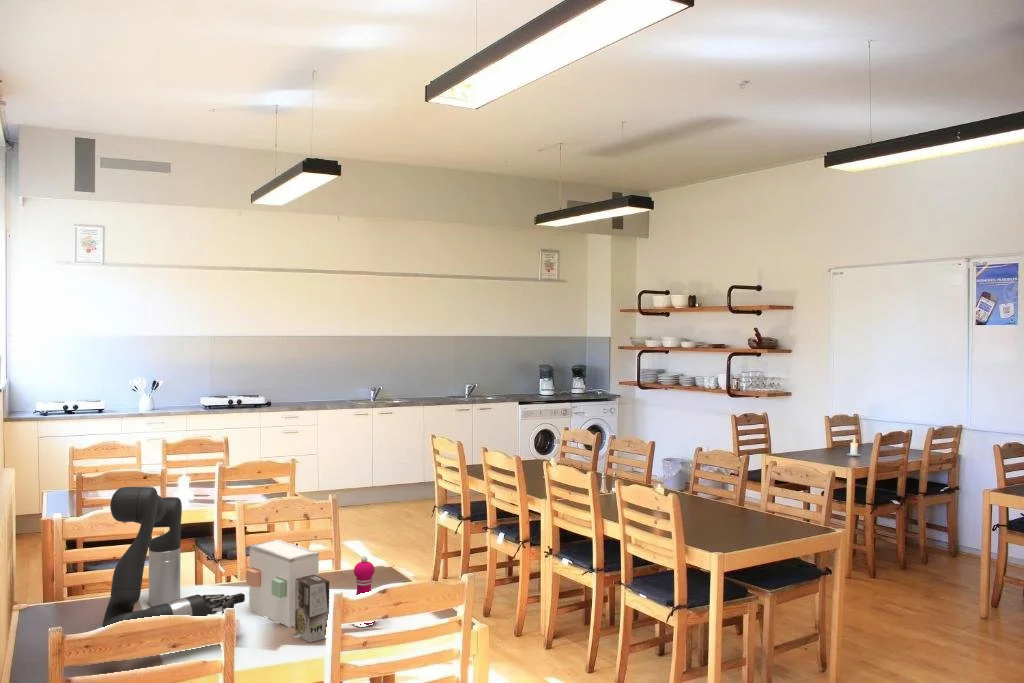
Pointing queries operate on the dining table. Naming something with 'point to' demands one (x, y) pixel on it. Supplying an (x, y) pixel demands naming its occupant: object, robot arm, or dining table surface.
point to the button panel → (283, 564)
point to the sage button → (279, 587)
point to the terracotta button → (254, 577)
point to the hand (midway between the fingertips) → (243, 597)
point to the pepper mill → (364, 577)
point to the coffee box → (311, 607)
